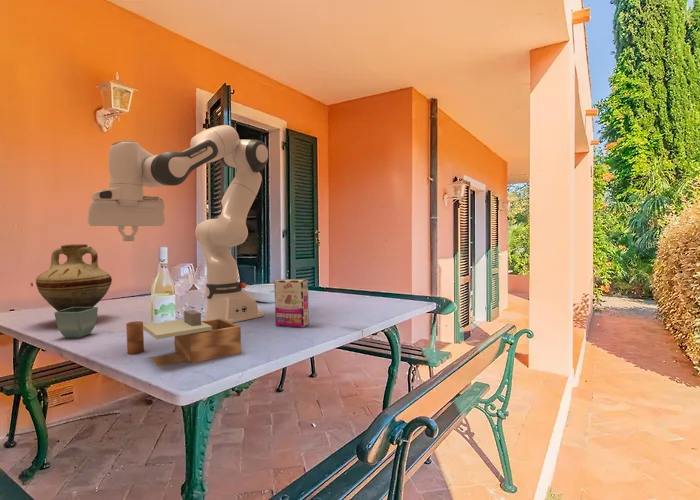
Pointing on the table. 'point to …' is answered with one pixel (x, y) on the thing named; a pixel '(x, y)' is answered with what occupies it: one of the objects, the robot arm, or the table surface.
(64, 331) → the flower pot
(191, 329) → the lid
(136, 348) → the brown wooden cylinder
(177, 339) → the crate
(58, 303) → the amphora
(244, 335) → the table surface
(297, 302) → the candy bar box
